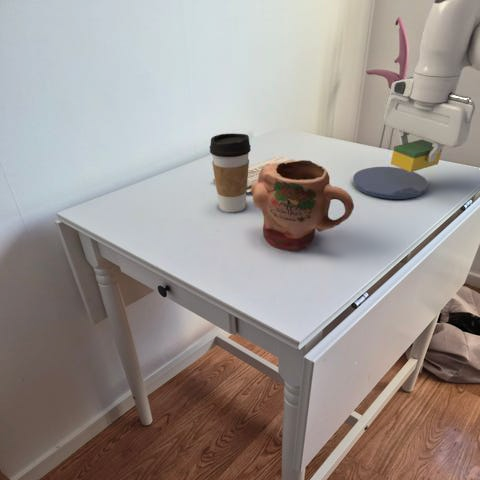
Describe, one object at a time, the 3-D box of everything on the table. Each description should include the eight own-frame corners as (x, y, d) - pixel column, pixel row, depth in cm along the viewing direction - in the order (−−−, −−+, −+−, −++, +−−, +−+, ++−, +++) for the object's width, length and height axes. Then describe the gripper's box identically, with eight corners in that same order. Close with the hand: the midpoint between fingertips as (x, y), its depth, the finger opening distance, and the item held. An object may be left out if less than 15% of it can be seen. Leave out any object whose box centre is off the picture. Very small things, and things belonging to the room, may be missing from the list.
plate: (387, 167, 110) (388, 161, 109) (441, 189, 99) (443, 183, 98) (337, 181, 104) (338, 176, 103) (389, 207, 92) (390, 201, 92)
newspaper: (245, 198, 98) (244, 187, 96) (214, 187, 106) (212, 177, 104) (312, 172, 108) (312, 161, 107) (280, 164, 116) (279, 154, 115)
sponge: (417, 156, 101) (421, 139, 99) (438, 164, 97) (443, 146, 95) (390, 164, 98) (394, 146, 95) (410, 172, 94) (415, 153, 91)
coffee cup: (239, 218, 90) (237, 146, 80) (206, 210, 93) (200, 139, 84) (257, 202, 96) (258, 133, 86) (226, 195, 99) (222, 128, 89)
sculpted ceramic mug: (355, 236, 83) (368, 166, 74) (338, 267, 75) (349, 192, 66) (263, 217, 90) (263, 151, 81) (237, 244, 82) (235, 173, 73)
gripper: (487, 96, 82) (464, 167, 91) (406, 78, 95) (392, 142, 104) (466, 101, 79) (444, 173, 88) (386, 82, 93) (374, 146, 102)
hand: (416, 156), depth 96 cm, fingers closed on sponge, 6 cm apart
